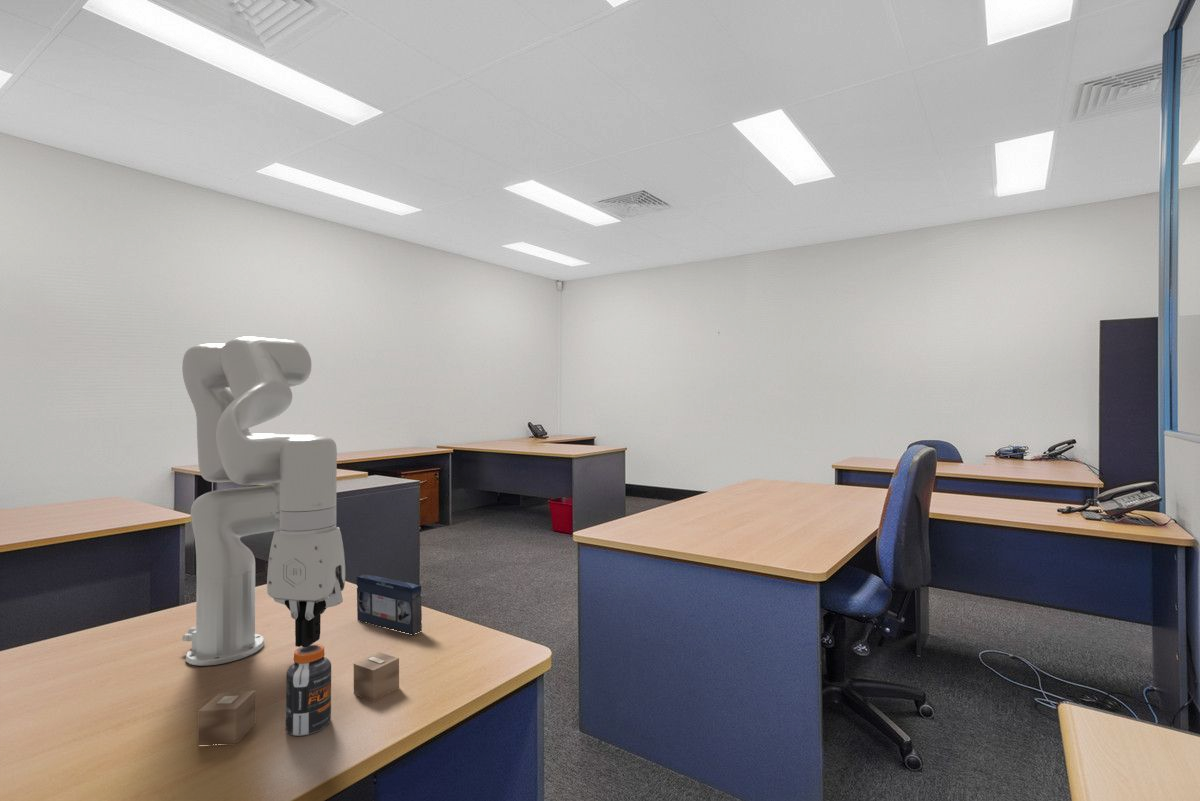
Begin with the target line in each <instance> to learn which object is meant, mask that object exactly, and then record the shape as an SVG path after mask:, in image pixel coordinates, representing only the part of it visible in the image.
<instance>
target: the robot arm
mask: <svg viewBox="0 0 1200 801" xmlns="http://www.w3.org/2000/svg"><path fill="white" fill-rule="evenodd" d="M181 370H182V377H183V378H182V379H183V382H184V386H185V388H186V392H187V394H188V396H189V399H190V401H191V403H192V405H193V408H194V411H195V412H194V413H195V417H196V439H197V440H196V441H197V443H196V444H197V462H198V468H199V469H198V470H199V473H200V475H201V477H202V478H203V480H205V481H207V482H211V483H231V482H233V483H235V484H237V485H241V486H244V487H236V488H234V487H232V488H224V489H217V490H211V491H208V492H205V493H204V494H202V495H200V496H198V497H197V498H196V499H195V500H194V501H193V503H192V505H191V508H190V521H191V527H192V531H193V538H194V545H195V546H194V547H195V556H196V557H195V558H196V559H195V561H196V563H195V564H196V565H195V566H196V573H195V574H196V596H195V597H196V604H195V606H196V608H195V609H196V611H195V612H196V613H195V614H196V617H195V618H196V621H195V622H196V623H195V624H196V625H195V626H191V627H190V628H189V629H188V632H187V633H184V634H183V635H182V641H183V642H191V648H190V649H188V651H187V652H186V654H185V661H186V663H187V664H189V665H192V666H203V667H205V666H206V667H207V666H216V665H223V664H226V663H231V662H235V661H238V660H241V659H244V658H247V657H249V656H251V655H254V654H255V653H257V652H258V651H260V650H261V649H262V648H263V646H264V645H265V638H264V636H263V635H261V634H259V633H256V558H255V556H254V552H253V551H252V550H251V549H250V548H249V547H248V546H246V545H245V543H244V542H242V540H241V538H242V537H249V536H250V535H257V534H263V533H270V532H274V533H273V536H272V539H271V544H270V550H269V555H268V562H267V565H268V566H267V573H266V574H267V575H266V593H267V595H268V597H270V598H272V599H273V601H274V602H275V603H278V604H281V605H284V606H285V607H286V608H287V609H288V610H289V611H290V612H289V613H290V617H291V618H292V619H293V620H295V621H294V623H295V624H294V626H295V627H294V629H295V630H294V634H295V635H294V636H295V643H294V644H295V647H296V648H297V647H298V648H300V647H308V646H310V645H311V644H315V643H316V642H318V641H320V638H321V615H322V614H324V613H325V611H326V609H328V608H331V607H332V608H333V607H337V606H338V605H340V604H341V603H343V600H344V598H343V594H342V591H344V589H345V584H346V562H345V560H346V559H345V549H344V543H343V539H342V538H343V536H342V532H341V529H340V527H339V526H337V484H338V482H337V473H338V470H337V468H338V467H337V466H338V465H337V464H338V463H337V459H338V458H337V456H338V454H337V453H338V450H337V449H338V448H337V443H336V442H335V440H334V439H333V438H331V437H326V436H319V435H316V434H312V433H292V434H291V433H290V434H289V433H273V432H271V433H270V432H266V433H265V432H263V433H262V432H261V433H252V432H250V429H251V428H252V427H255V426H258V425H260V424H263V423H265V422H267V421H271V420H273V419H275V418H277V417H279V416H280V415H282V414H283V413H285V412H286V410H287V409H288V408H289V407H290V406H291V403H292V401H293V392H292V389H291V388H292V387H295V386H299V385H301V384H304V383H305V382H306V381H307V380H308V379H309V378H310V375H311V372H312V359H311V356H310V353H309V351H308V349H307V348H306V347H305V346H304V344H302V343H300V342H298V341H296V340H291V339H282V338H281V339H279V338H267V337H258V336H242V337H241V336H240V337H236V338H232V339H231V340H228V341H227V342H226V343H203V344H197V345H194V346H191V347H189V348H188V349H187V350H186V351H185V352H184V355H183V358H182V369H181ZM228 388H229V389H228ZM249 428H250V429H249ZM253 485H255V486H253ZM256 485H258V486H256ZM246 486H247V487H246ZM248 486H249V487H248Z"/></svg>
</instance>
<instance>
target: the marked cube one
mask: <svg viewBox="0 0 1200 801" xmlns="http://www.w3.org/2000/svg"><path fill="white" fill-rule="evenodd" d="M197 714H198V716H197V718H198V719H197V723H198V724H197V725H198V726H197V727H198V728H197V729H198V732H197V735H198V736H197V737H198V740H197V743H198V744H197V746H198V745H213V744H214V745H215V744H217V745H218V744H235V745H237V744H238V743H239V742H240V741H241V740H242V739H243V738H244V737H245V736H246V735H247V734H248V733H249V732H250V731H251V729H252V728H253V727H255V725H256V690H248V691H230V692H226V691H225V692H219V693H218V694H217V695H216V696H214V697H213V698H212V699H211V700H210V701H208V703H205V705H204V706H202V707H201V708H200V709H199V710H198V712H197ZM247 732H248V733H247ZM246 733H247V734H246ZM245 734H246V735H245ZM244 735H245V736H244ZM243 736H244V737H243ZM242 737H243V738H242ZM241 738H242V739H241ZM240 739H241V740H240ZM239 740H240V741H239ZM238 741H239V742H238ZM237 742H238V743H237ZM236 743H237V744H236ZM218 746H219V745H218Z"/></svg>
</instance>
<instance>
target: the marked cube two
mask: <svg viewBox="0 0 1200 801" xmlns="http://www.w3.org/2000/svg"><path fill="white" fill-rule="evenodd" d="M399 688H400V658H399V657H396V656H393V655H390V654H387V653H383V652H381V651H378V652H376V653H374V654H372V655H370V656H368V657H366V658H363V659H361V660H358V661H356V662H354V663H353V695H356V696H358V697H360V698H363V699H366V700H369V701H370V702H376V701H377V700H379V699H381V698H382V697H384V696H386V695H387V696H388V695H389V694H390V693H392V692H394V691H396V690H398V689H399Z"/></svg>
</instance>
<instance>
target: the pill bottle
mask: <svg viewBox="0 0 1200 801" xmlns="http://www.w3.org/2000/svg"><path fill="white" fill-rule="evenodd" d="M325 654H326V653H325V646H324V645H323V644H320V643H313V644H311V645H310V646H308V647H302V646H301V647H298V648H296V649H295V650H294V652H293V662H292V663H291V665H289V666H288V668H287V670H286V674H285V675H286V677H285V678H286V679H285V682H286V683H285V684H286V686H285V691H286V692H285V731H286V732H287V734H289V735H291V736H295V737H299V736H300V737H301V736H307V735H311V734H314V733H317V732H319V731H321V730H323V729H324V728H325V727H327V726H328V724H330V723H331V720H332V719H331V718H332V717H331V715H332V663H331V660H330V659H329V658H327V657H325Z"/></svg>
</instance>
